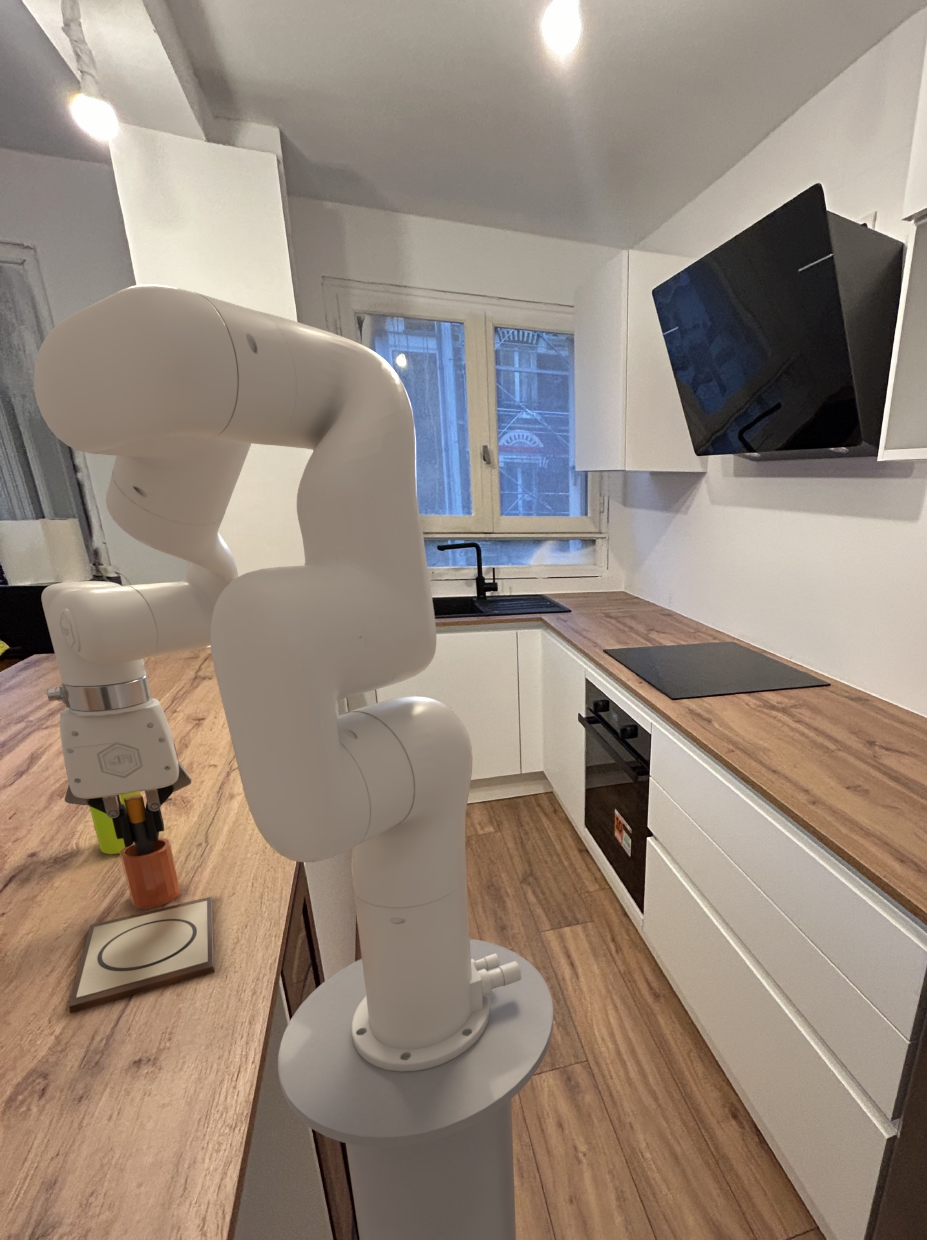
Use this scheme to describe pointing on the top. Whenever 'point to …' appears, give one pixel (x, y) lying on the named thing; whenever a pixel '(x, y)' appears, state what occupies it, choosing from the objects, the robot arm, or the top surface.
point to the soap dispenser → (108, 829)
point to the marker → (138, 824)
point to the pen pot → (151, 875)
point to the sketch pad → (144, 953)
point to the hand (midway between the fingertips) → (142, 838)
